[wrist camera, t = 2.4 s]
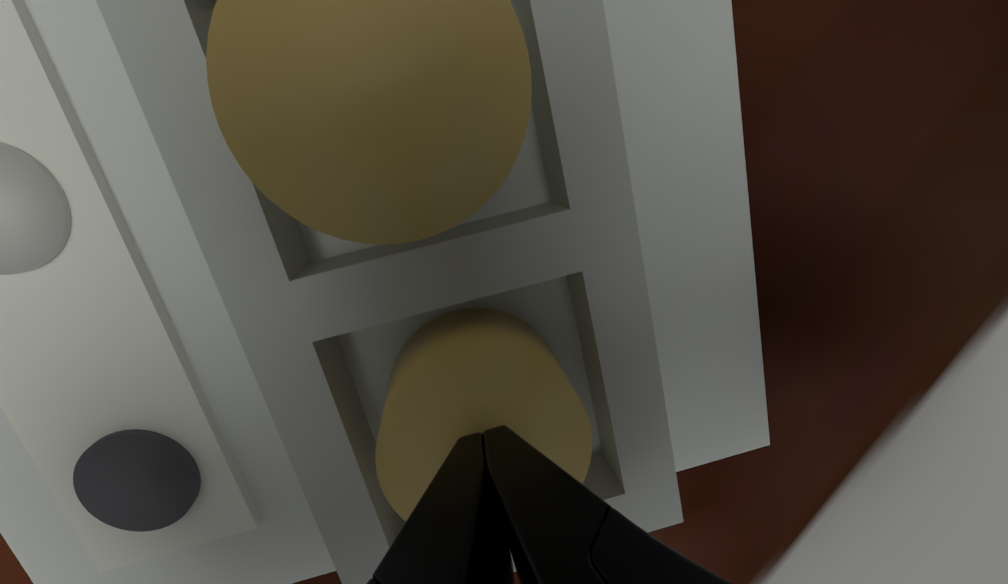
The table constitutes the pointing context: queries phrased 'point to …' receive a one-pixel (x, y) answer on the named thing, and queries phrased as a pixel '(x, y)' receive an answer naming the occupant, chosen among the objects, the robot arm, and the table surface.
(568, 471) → the button
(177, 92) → the board
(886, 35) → the table surface
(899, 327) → the table surface
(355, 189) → the button mid
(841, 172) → the table surface
